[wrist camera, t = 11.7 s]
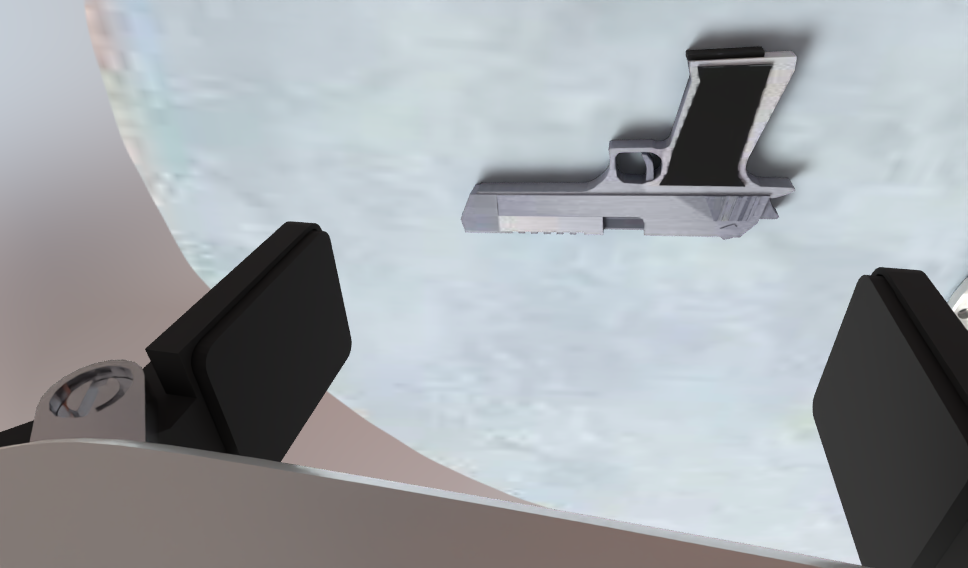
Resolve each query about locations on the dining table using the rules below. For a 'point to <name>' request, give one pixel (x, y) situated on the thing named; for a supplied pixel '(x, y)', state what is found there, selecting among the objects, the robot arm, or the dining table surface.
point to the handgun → (666, 165)
